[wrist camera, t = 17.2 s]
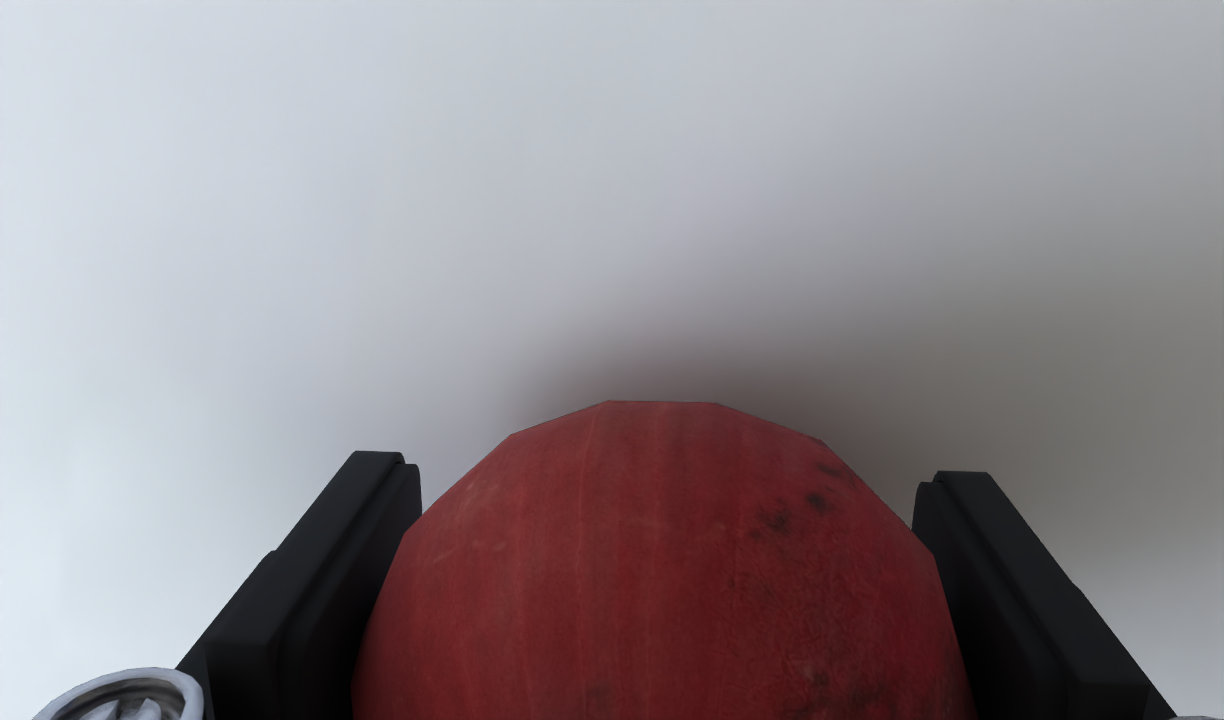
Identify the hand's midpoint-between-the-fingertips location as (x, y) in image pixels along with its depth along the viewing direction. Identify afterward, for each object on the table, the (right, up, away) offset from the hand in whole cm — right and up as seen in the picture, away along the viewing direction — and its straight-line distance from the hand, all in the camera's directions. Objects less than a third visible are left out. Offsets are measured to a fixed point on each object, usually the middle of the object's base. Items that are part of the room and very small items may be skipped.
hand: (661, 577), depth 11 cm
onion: (0, +1, +2) cm, 2 cm away
